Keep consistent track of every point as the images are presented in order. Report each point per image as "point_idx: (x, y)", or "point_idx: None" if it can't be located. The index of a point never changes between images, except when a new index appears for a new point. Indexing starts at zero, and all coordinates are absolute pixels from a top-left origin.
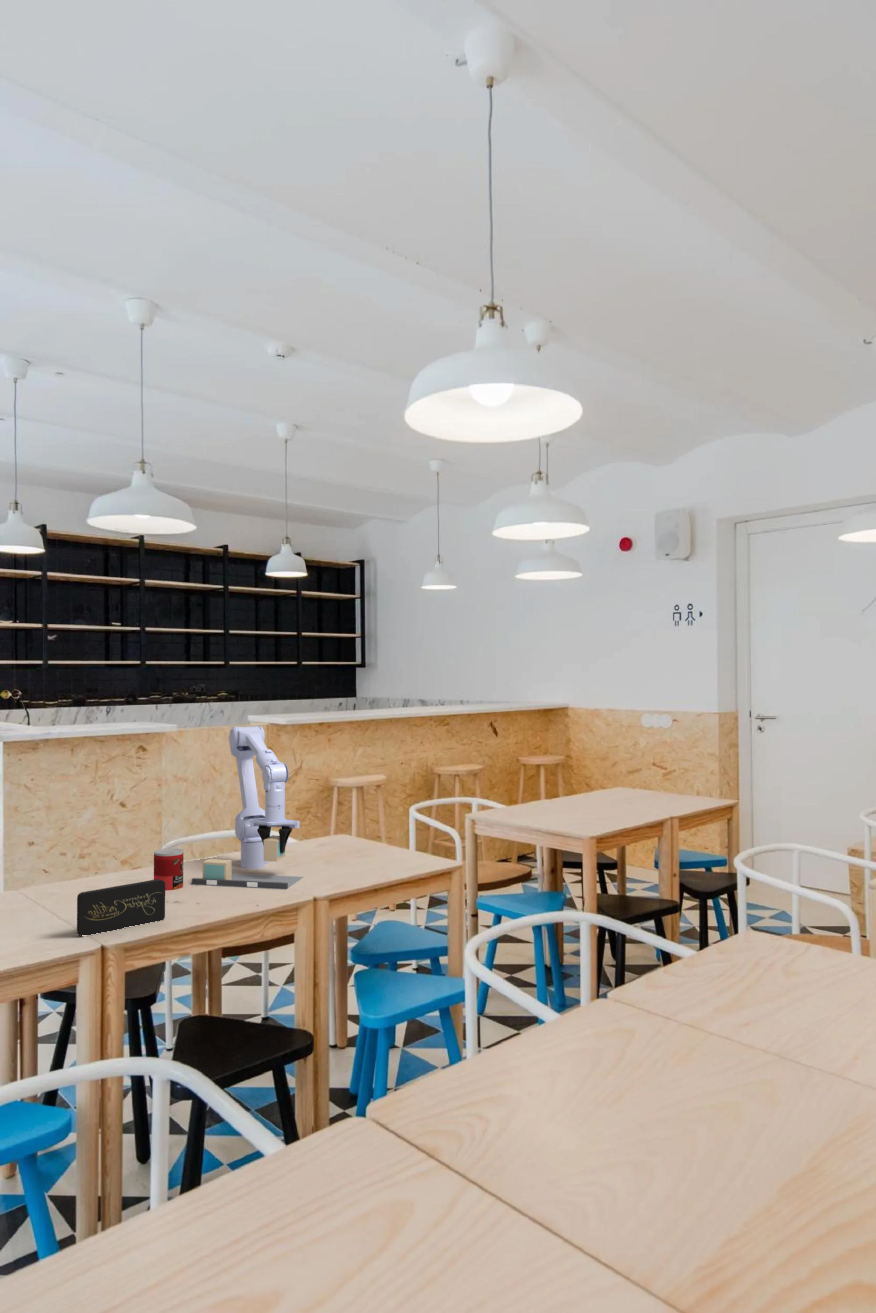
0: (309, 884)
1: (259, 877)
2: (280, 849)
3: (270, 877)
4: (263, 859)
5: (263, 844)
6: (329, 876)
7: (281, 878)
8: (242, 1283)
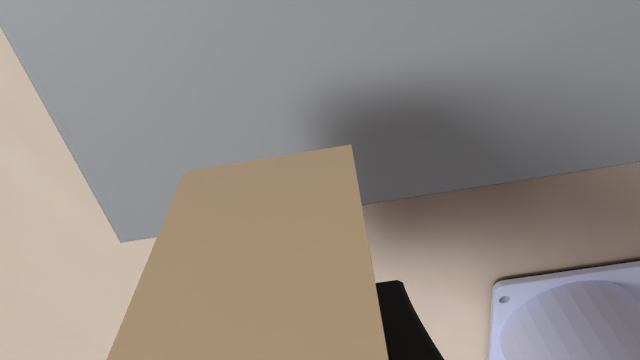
0: (6, 155)
1: (409, 126)
2: None
3: None
4: (352, 153)
5: (434, 355)
6: (67, 332)
7: (231, 157)
8: None
